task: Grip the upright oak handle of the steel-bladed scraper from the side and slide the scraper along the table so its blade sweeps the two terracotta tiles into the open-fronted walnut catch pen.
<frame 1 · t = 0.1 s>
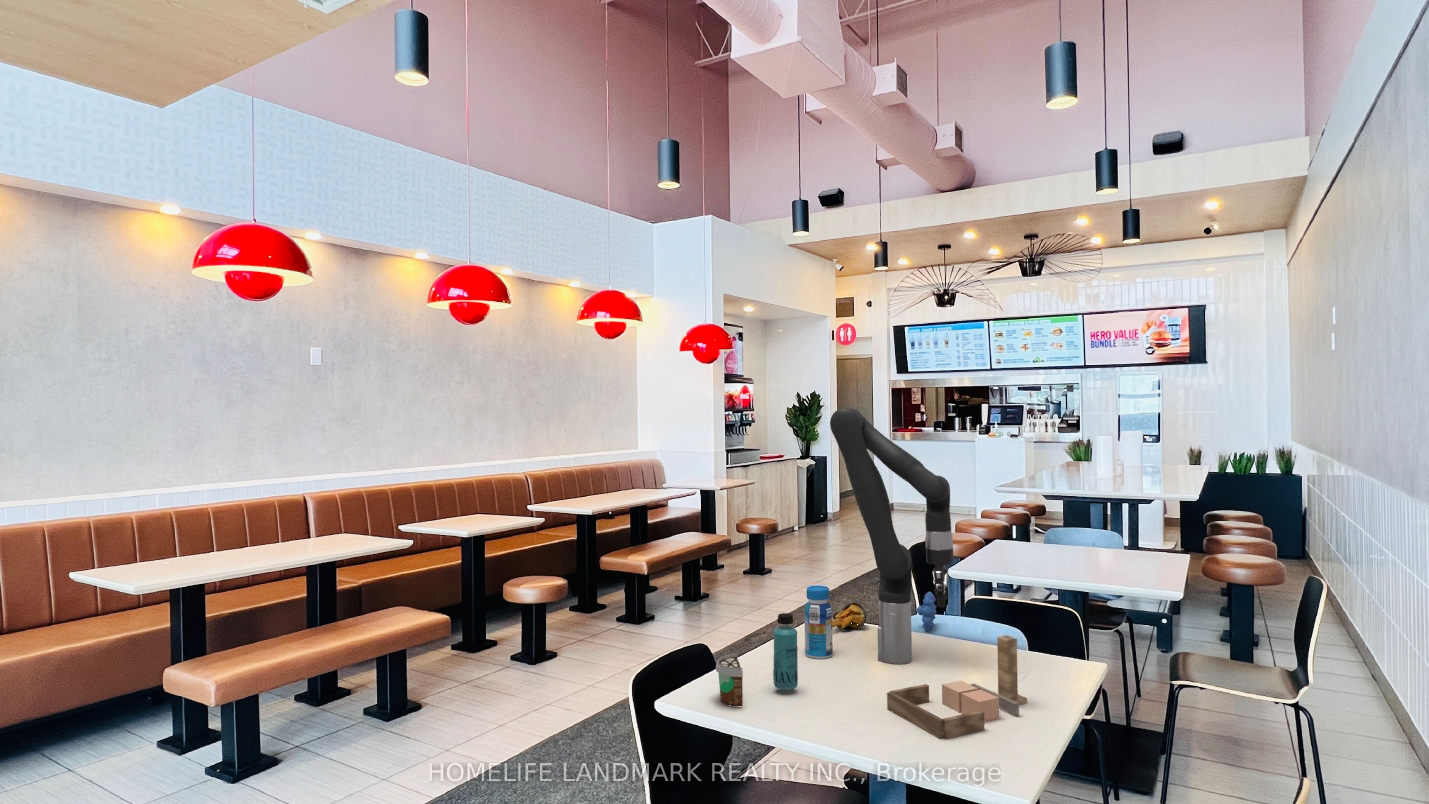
hand: (942, 603, 226), 17 cm above the table, tool pointing down, fingers open, 8 cm apart
tile a: (980, 716, 188), on the table
food container: (728, 701, 200), on the table
catch pen: (936, 717, 187), on the table
beverage bottle 2: (818, 655, 236), on the table
grapes: (926, 629, 262), on the table
beverage bottle: (786, 692, 206), on the table
fried food: (844, 631, 261), on the table
tile b: (960, 706, 194), on the table
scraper: (1008, 702, 196), on the table
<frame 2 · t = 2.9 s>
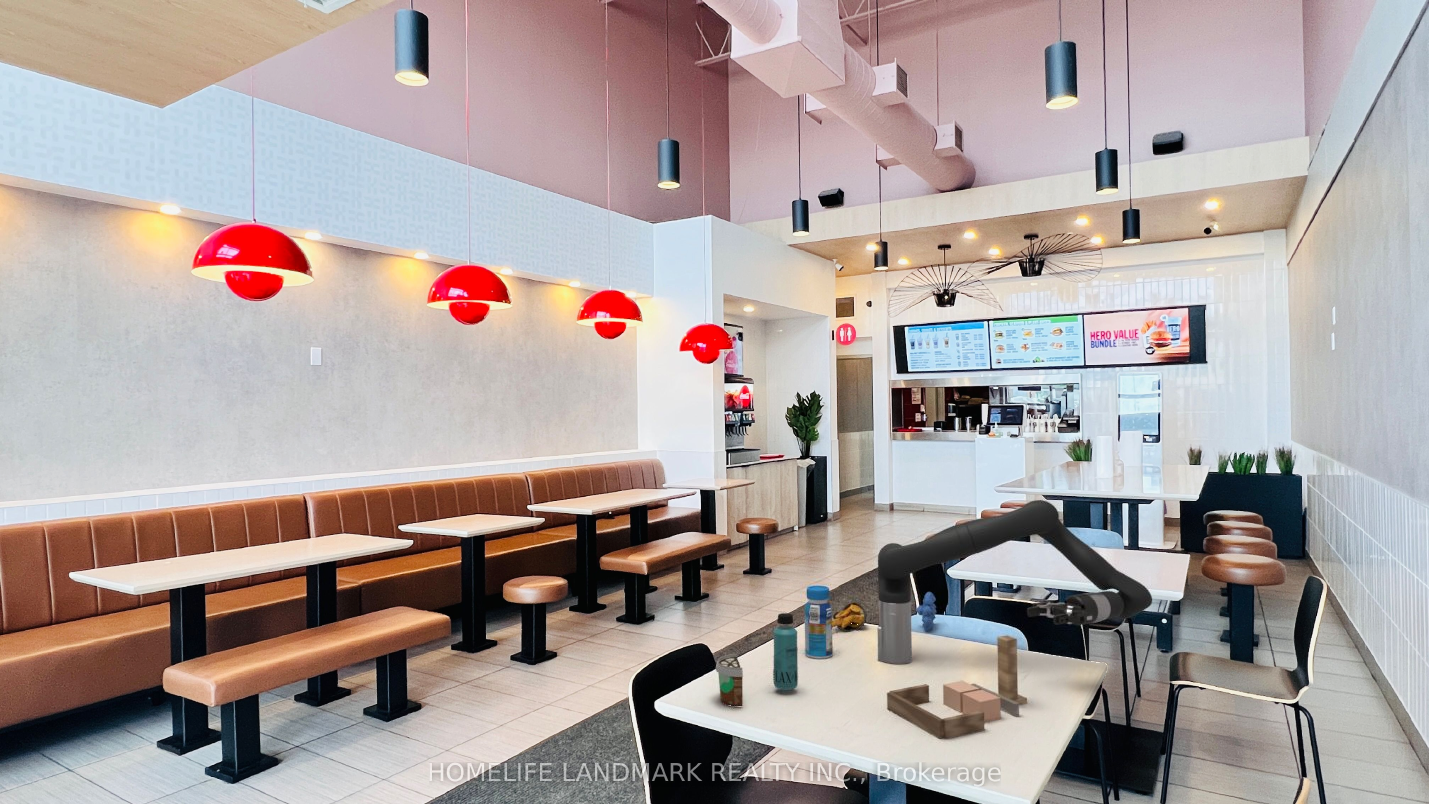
hand: (1040, 616, 201), 20 cm above the table, tool horizontal, fingers open, 8 cm apart
nothing on the table moved.
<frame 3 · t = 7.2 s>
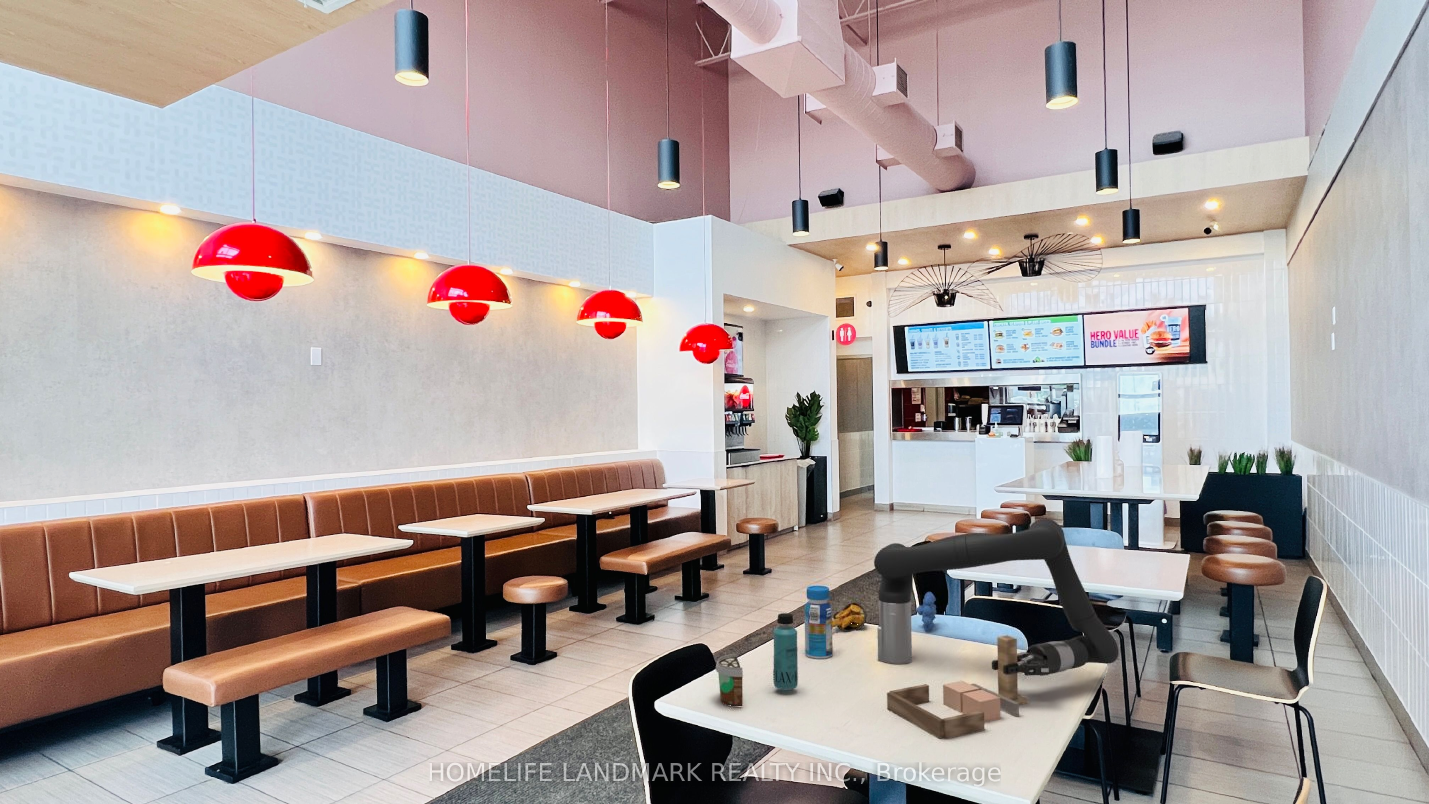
hand: (998, 667, 195), 9 cm above the table, tool horizontal, fingers closed on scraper, 3 cm apart
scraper: (1008, 702, 196), on the table, touching gripper
everything else where it was.
when the fingers open (9 cm above the table, at t = 12.2 s): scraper stays where it is, on the table.
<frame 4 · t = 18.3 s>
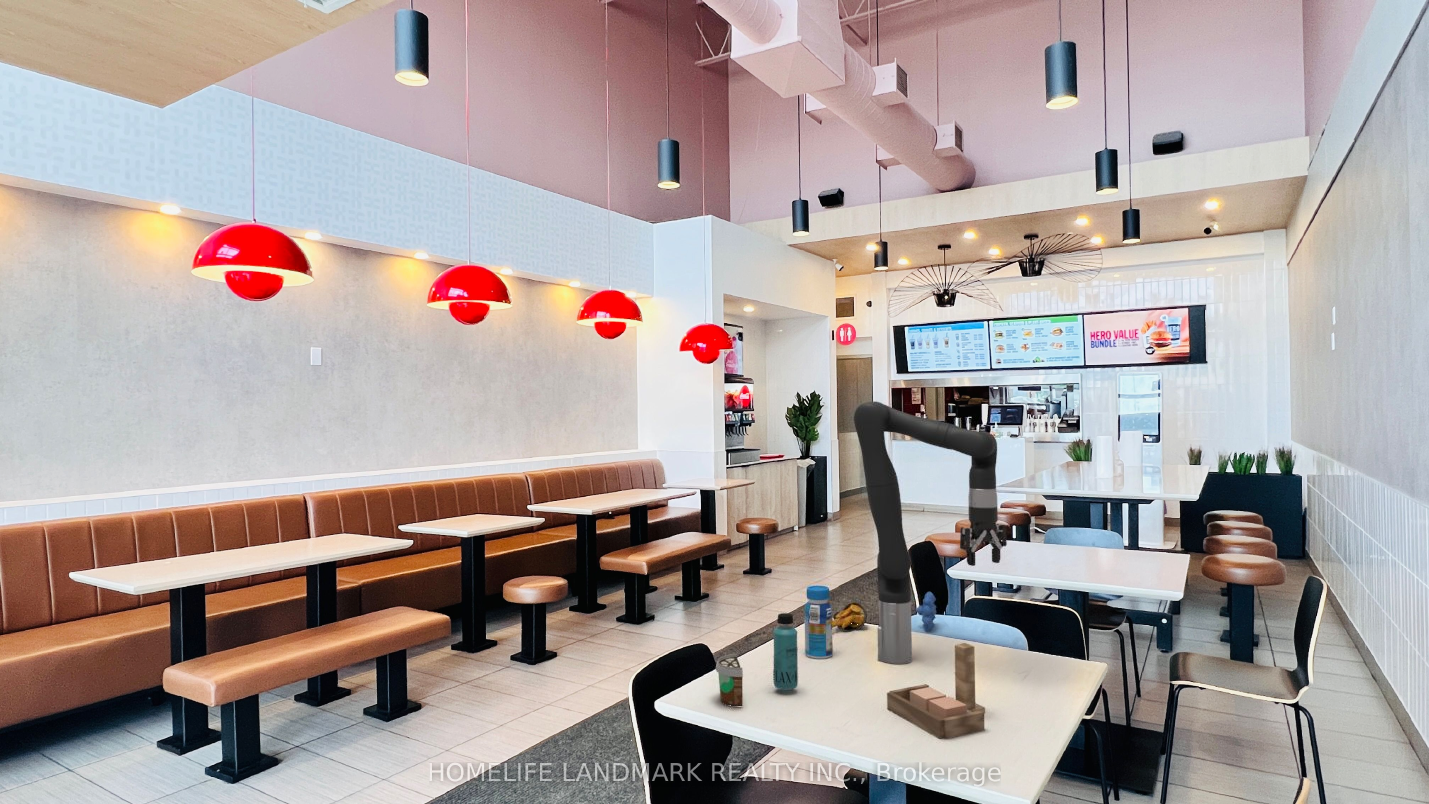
hand: (983, 563, 217), 30 cm above the table, tool pointing down, fingers open, 8 cm apart
tile a: (947, 724, 184), on the table
tile b: (928, 713, 190), on the table
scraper: (965, 712, 191), on the table
everything else where it was.
at the end: tile a 3.7 cm from the catch pen (horizontally); tile b 3.2 cm from the catch pen (horizontally); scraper moved 13.6 cm from its start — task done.
